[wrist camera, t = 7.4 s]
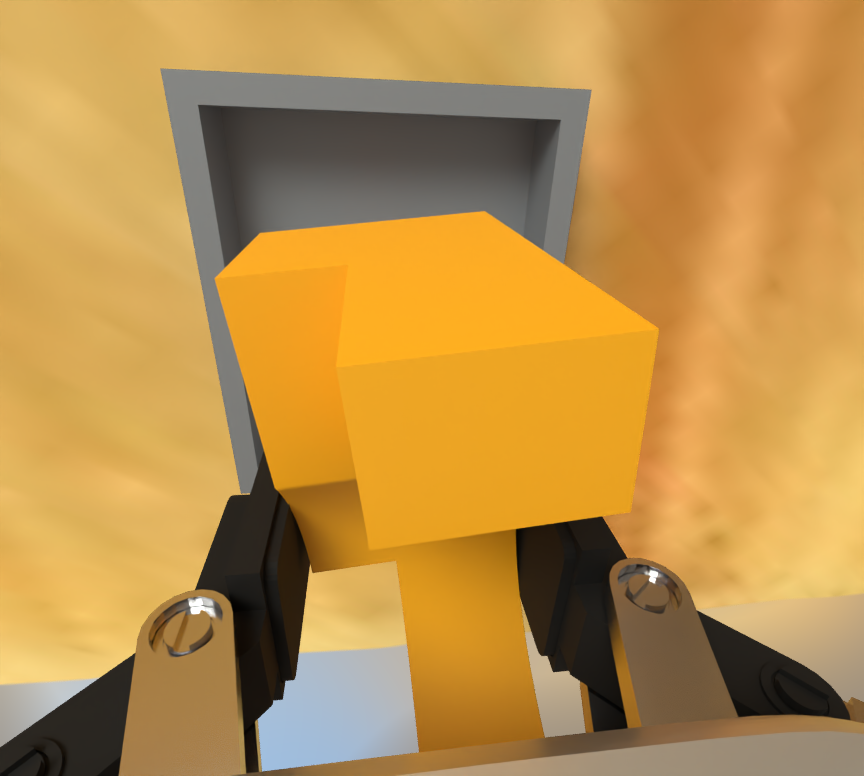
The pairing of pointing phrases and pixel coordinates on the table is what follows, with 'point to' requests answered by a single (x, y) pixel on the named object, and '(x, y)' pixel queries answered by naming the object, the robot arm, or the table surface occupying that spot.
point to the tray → (359, 171)
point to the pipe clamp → (440, 428)
